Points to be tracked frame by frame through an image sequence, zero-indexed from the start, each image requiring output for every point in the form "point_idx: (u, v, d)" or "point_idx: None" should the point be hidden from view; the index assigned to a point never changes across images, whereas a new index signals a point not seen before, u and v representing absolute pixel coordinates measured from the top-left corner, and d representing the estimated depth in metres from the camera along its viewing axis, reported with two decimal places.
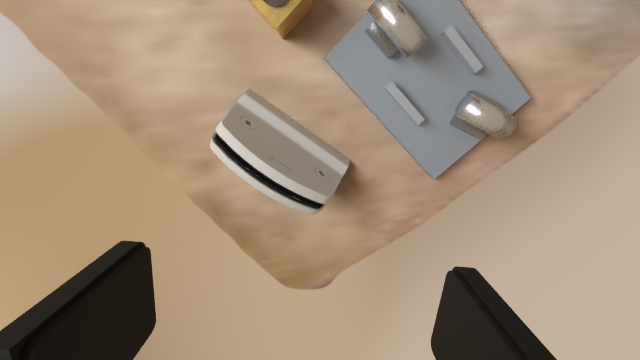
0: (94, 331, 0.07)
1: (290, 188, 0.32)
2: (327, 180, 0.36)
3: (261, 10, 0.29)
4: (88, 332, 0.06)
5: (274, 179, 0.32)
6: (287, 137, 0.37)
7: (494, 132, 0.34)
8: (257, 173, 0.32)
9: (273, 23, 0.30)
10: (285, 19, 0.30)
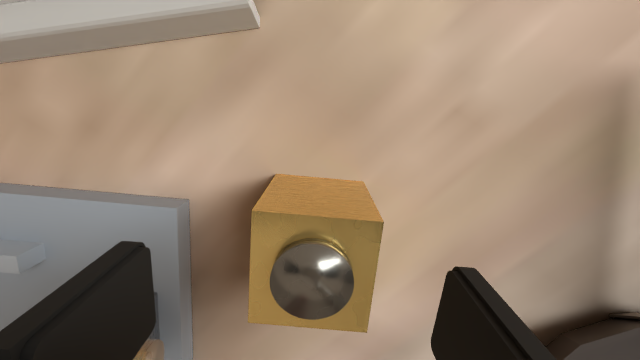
0: (94, 331, 0.07)
1: None
2: None
3: (308, 219, 0.11)
4: (88, 332, 0.06)
5: None
6: None
7: None
8: None
9: (265, 216, 0.11)
10: None
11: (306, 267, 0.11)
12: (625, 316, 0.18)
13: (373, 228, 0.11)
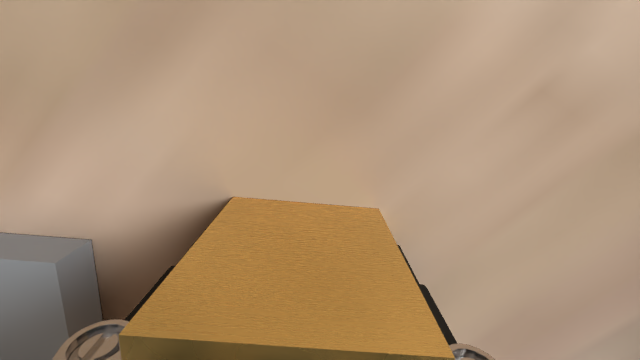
0: None
1: None
2: None
3: (265, 354, 0.04)
4: None
5: None
6: None
7: None
8: None
9: (154, 347, 0.04)
10: None
11: None
12: None
13: None
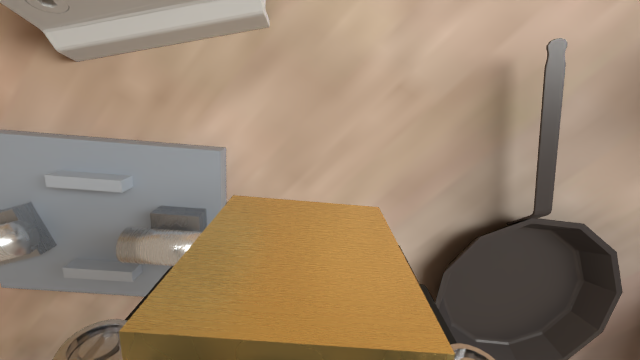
0: None
1: None
2: None
3: (265, 350, 0.04)
4: None
5: None
6: (158, 8, 0.21)
7: None
8: None
9: (155, 343, 0.04)
10: None
11: None
12: (513, 221, 0.27)
13: None
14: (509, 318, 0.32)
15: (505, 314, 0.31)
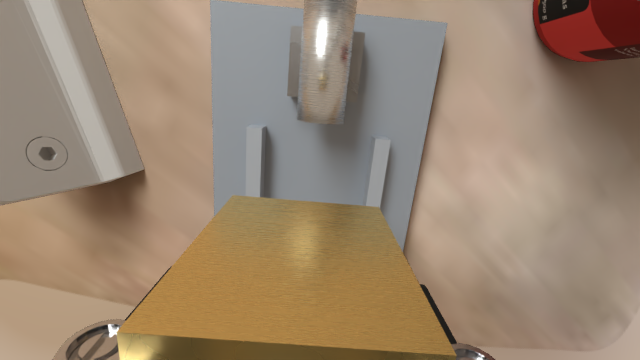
0: None
1: None
2: (42, 170, 0.18)
3: (264, 351, 0.04)
4: None
5: None
6: (47, 54, 0.19)
7: None
8: None
9: (153, 344, 0.04)
10: None
11: None
12: None
13: None
14: None
15: None
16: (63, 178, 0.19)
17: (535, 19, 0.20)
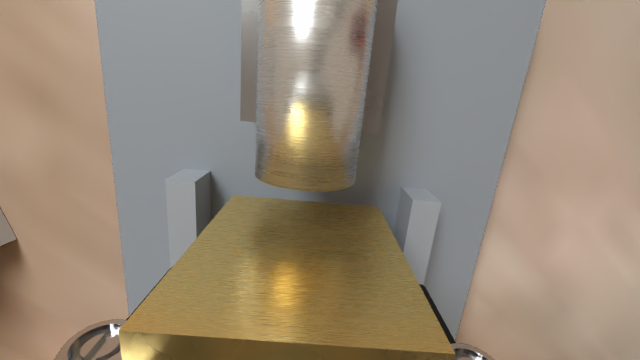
0: None
1: None
2: None
3: (265, 350, 0.04)
4: None
5: None
6: None
7: None
8: None
9: (154, 343, 0.04)
10: None
11: None
12: None
13: None
14: None
15: None
16: None
17: None
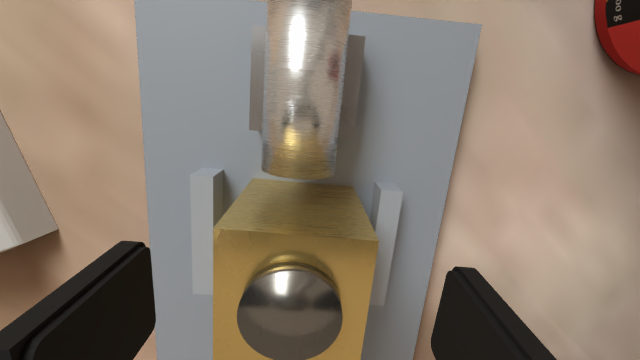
0: (94, 331, 0.07)
1: None
2: None
3: (285, 239, 0.09)
4: (88, 332, 0.06)
5: None
6: None
7: None
8: None
9: (230, 235, 0.09)
10: None
11: (282, 299, 0.09)
12: None
13: (366, 249, 0.09)
14: None
15: None
16: None
17: (599, 22, 0.14)
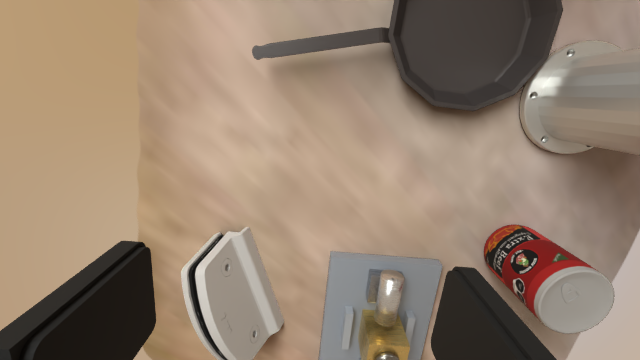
0: (94, 331, 0.07)
1: (220, 349, 0.35)
2: (254, 343, 0.39)
3: (386, 346, 0.36)
4: (88, 332, 0.06)
5: (213, 337, 0.34)
6: (249, 285, 0.40)
7: None
8: (203, 320, 0.34)
9: (373, 345, 0.36)
10: (367, 350, 0.36)
11: None
12: None
13: (406, 348, 0.36)
14: (499, 22, 0.33)
15: (493, 28, 0.33)
16: (259, 342, 0.40)
17: (485, 258, 0.41)
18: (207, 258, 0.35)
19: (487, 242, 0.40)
